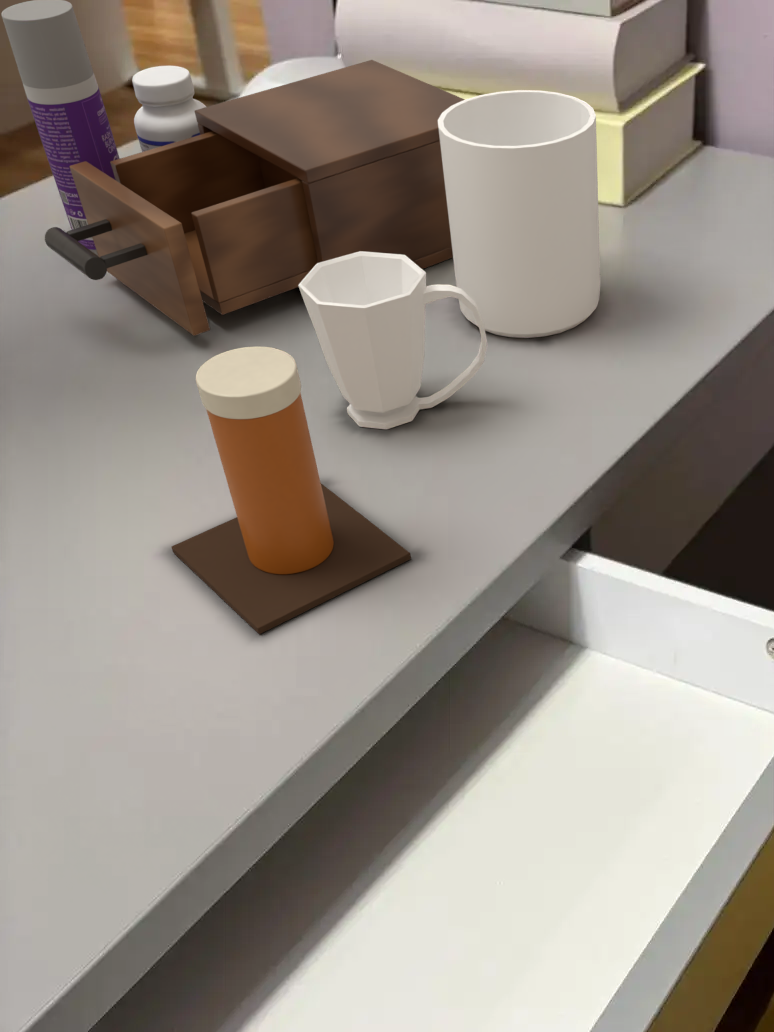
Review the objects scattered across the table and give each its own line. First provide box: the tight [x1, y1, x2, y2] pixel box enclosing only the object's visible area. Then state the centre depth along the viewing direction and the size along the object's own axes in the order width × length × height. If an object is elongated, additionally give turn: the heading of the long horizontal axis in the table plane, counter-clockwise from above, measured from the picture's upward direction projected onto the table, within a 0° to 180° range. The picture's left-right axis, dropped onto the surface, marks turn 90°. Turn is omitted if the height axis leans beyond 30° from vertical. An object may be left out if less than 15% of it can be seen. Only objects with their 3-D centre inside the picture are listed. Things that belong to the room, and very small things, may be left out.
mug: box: [438, 89, 601, 339], centre depth 79 cm, size 10×12×12 cm
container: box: [1, 0, 120, 256], centre depth 86 cm, size 5×5×15 cm
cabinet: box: [195, 59, 465, 270], centre depth 87 cm, size 15×15×9 cm
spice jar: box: [195, 345, 334, 574], centre depth 61 cm, size 5×5×10 cm
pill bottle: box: [131, 65, 207, 152], centre depth 90 cm, size 5×5×10 cm
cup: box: [298, 251, 488, 430], centre depth 71 cm, size 7×10×8 cm
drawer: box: [44, 131, 318, 337], centre depth 82 cm, size 18×13×7 cm
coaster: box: [170, 483, 412, 635], centre depth 65 cm, size 9×9×1 cm
